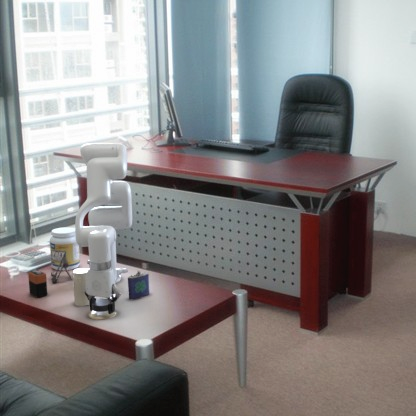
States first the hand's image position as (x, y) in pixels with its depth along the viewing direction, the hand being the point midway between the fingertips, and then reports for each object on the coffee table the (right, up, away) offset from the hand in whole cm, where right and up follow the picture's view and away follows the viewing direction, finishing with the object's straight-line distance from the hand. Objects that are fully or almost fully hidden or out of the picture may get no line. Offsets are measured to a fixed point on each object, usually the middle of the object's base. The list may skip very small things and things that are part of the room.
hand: (102, 311), depth 246 cm
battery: (-31, +3, +18) cm, 36 cm away
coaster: (0, -1, 0) cm, 1 cm away
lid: (0, +3, -1) cm, 3 cm away
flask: (+9, +3, +19) cm, 21 cm away
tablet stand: (-28, +8, +36) cm, 46 cm away
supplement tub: (-32, +11, +52) cm, 62 cm away
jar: (-11, +1, +11) cm, 15 cm away
